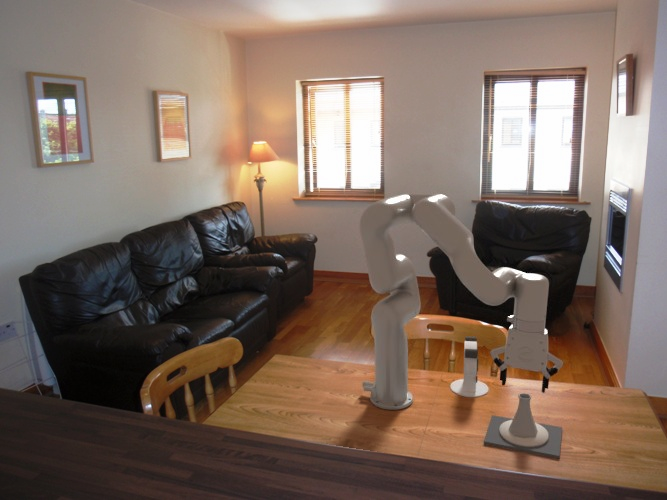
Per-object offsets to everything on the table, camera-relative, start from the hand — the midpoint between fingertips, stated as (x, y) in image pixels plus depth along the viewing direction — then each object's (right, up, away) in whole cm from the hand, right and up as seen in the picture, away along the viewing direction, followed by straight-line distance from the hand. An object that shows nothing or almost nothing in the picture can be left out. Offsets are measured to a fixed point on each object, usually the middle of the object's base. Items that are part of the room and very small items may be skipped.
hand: (523, 386), depth 146 cm
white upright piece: (-7, -8, +30) cm, 31 cm away
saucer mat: (+1, -14, +3) cm, 14 cm away
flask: (+1, -12, +3) cm, 13 cm away
